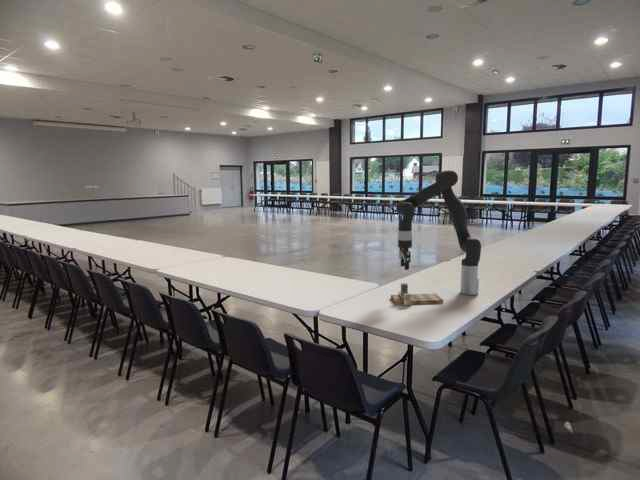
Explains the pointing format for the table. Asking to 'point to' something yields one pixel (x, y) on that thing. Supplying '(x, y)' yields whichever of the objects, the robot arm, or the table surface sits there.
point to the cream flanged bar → (405, 294)
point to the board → (418, 299)
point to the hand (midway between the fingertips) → (404, 267)
